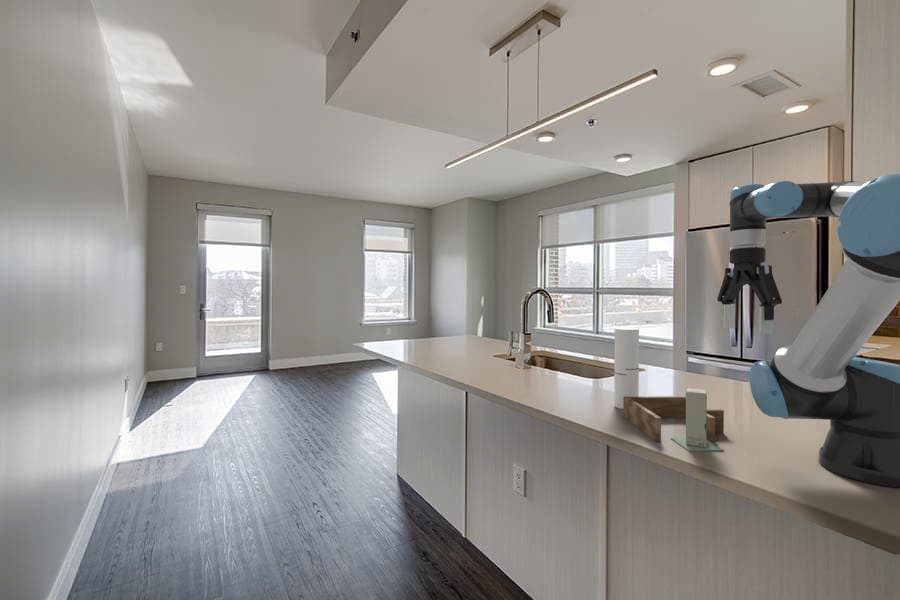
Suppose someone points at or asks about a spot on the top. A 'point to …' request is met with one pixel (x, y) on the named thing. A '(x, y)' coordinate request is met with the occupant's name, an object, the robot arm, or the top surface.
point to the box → (696, 417)
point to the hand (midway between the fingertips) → (746, 331)
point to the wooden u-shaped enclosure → (666, 414)
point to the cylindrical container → (626, 365)
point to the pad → (708, 447)
